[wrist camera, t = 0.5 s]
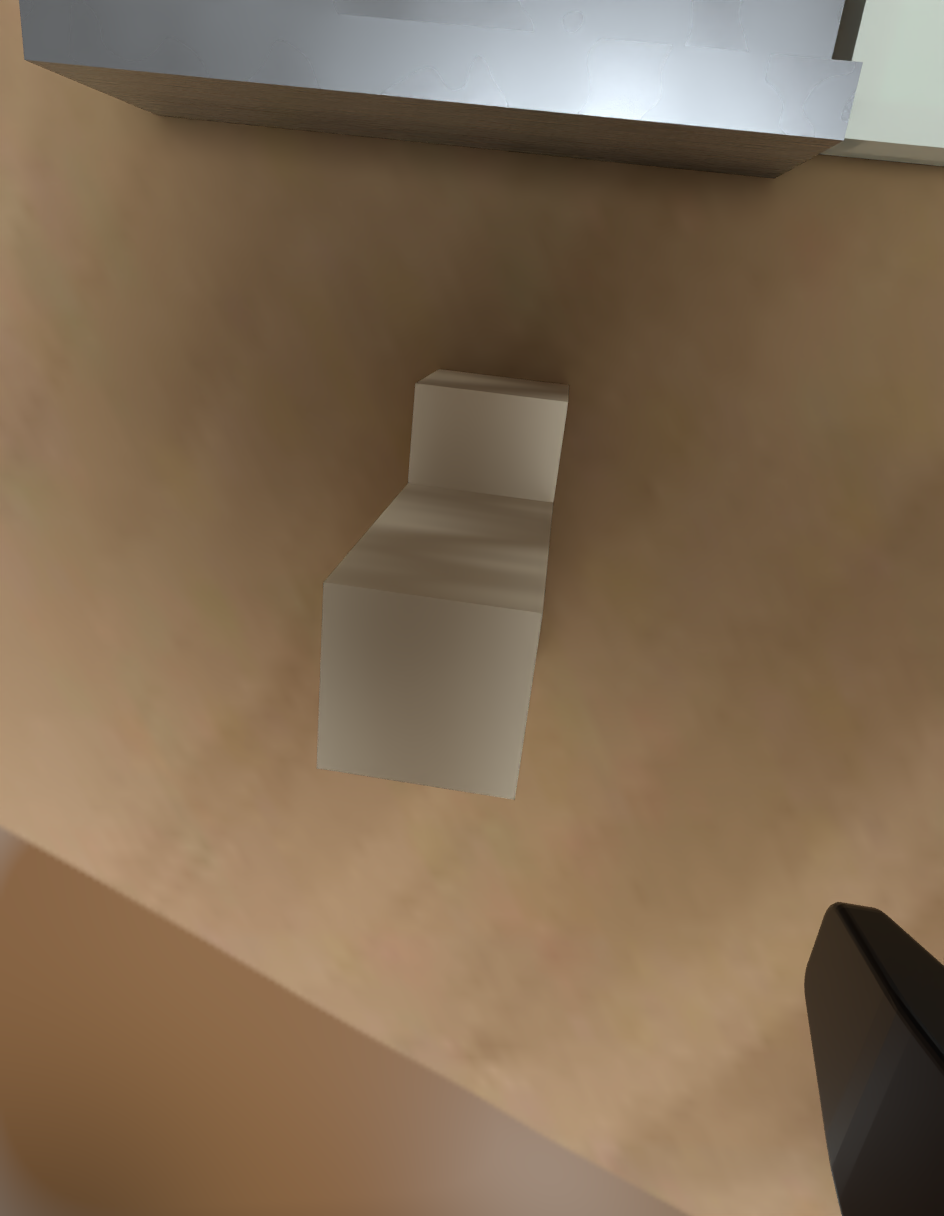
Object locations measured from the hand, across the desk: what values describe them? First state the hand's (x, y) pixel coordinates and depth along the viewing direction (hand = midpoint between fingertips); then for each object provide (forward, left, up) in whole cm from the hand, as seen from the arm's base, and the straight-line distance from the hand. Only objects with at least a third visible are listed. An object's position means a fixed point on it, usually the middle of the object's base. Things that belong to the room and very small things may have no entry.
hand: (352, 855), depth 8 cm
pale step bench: (0, 0, -13) cm, 13 cm away
